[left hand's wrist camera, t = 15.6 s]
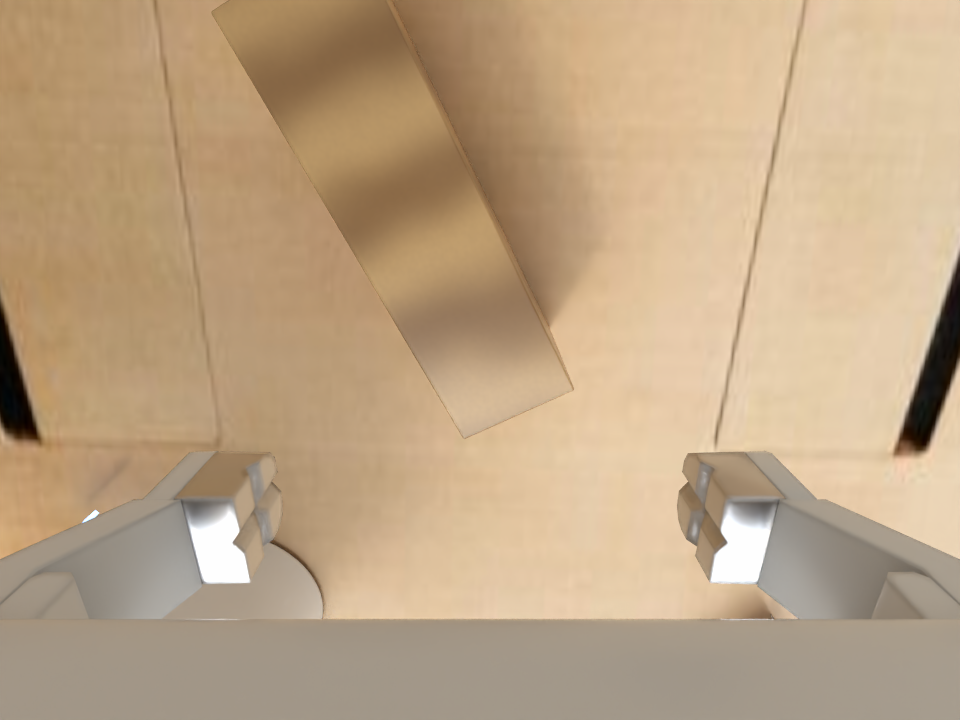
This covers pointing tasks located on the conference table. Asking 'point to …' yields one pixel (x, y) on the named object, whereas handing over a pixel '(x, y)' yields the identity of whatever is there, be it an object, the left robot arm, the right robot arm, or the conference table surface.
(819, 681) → the left robot arm
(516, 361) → the box
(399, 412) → the conference table surface
